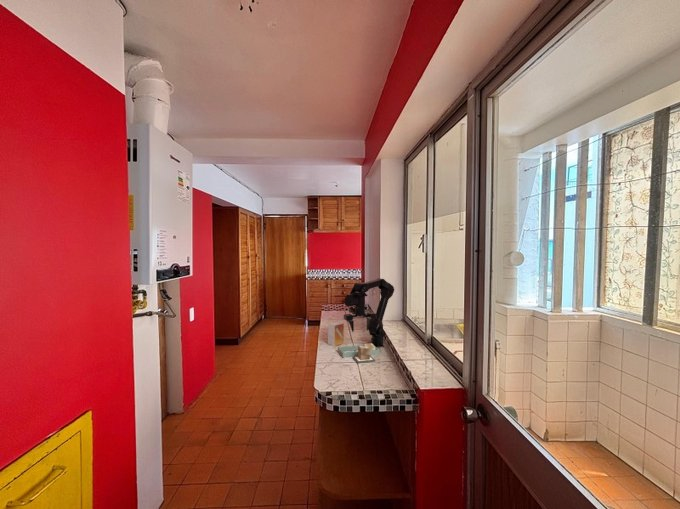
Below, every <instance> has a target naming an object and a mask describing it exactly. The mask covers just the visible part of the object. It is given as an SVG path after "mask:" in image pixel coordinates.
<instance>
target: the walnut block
mask: <svg viewBox="0 0 680 509" xmlns="http://www.w3.org/2000/svg"><path fill="white" fill-rule="evenodd" d="M357 346H358V350H357V351H358V358H359V359H360V360H369V359H370V356H371V355H370V348H369V347H368V346H367V345H366V346H359V345H357Z"/></svg>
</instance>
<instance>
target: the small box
mask: <svg viewBox="0 0 680 509" xmlns="http://www.w3.org/2000/svg"><path fill="white" fill-rule="evenodd" d="M344 328H345V323H343V322H341V321H335V322H331V323H328V325H327V344H328V346H329V345H330V346H333V347H337V346H340V345H343V344H344V339H345V338H344V336H345V335H344V334H345V329H344Z"/></svg>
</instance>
